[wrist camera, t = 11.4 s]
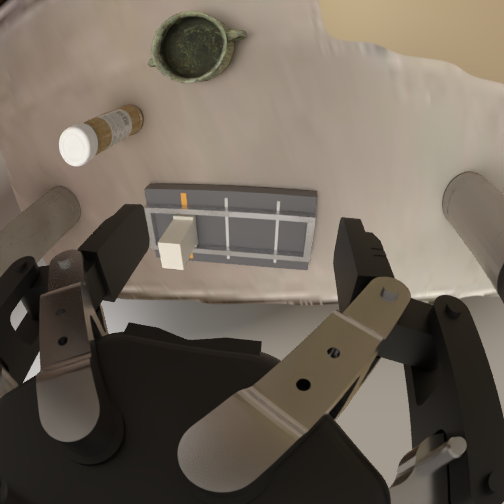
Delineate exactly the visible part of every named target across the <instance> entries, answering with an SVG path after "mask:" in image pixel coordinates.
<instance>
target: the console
mask: <svg viewBox="0 0 504 504" xmlns="http://www.w3.org/2000/svg"><path fill="white" fill-rule="evenodd" d="M144 190H145V196H146V202H147V204H146V205H145V207H144V210H145V216H146V221H147V226H148V232H149V237H150V245H151V249H155V252H156V256H157V257H160V252H159V247H158V241H159V240H160V238H161V237H162V235H163V234H164V232H165V231H166V229H167V228H168V226H169V225H170V223H171V222H172V220H173V215H174V214H187V215H195V217H196V227H197V237H198V245H197V247H195V248H194V250H193V252H192V254H191V256H190V258H189V260H192V261H203V262H215V263H226V264H238V265H250V266H262V267H274V268H286V269H299V270H307V269H308V263H309V262H310V256H311V249H312V242H313V235H314V227H315V220H316V216H315V212H316V203H317V193H316V191H306V190H294V189H281V188H266V187H249V186H229V185H201V184H149V185H148V186H147V187H146V188H145V189H144ZM160 258H161V257H160Z"/></svg>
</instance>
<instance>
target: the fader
mask: <svg viewBox="0 0 504 504" xmlns="http://www.w3.org/2000/svg"><path fill="white" fill-rule="evenodd" d="M197 245H198V237H197V227H196V217H195V215H187V214H174V215H173V220H172V222H171V223H170V225H169V226H168V228H167V229H166V231H165V232H164V234H163V235H162V237H161V238H160V240H159V241H158V247H159V252H160V257H161V262H162V267H163V268H170V269H179V270H184V268H185V266H186V264H187V262H188V260H189V258H190V256H191V254H192V252H193V250H194V248H195V247H197Z"/></svg>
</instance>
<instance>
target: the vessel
mask: <svg viewBox="0 0 504 504" xmlns="http://www.w3.org/2000/svg"><path fill="white" fill-rule="evenodd" d="M245 36H246V32H245V31H243V30H235V29H233V30H229V29H228V28H227V27H226V26H225V25H224V24H223V23H222V22H220V21H218V20H216V19H215V18H213V17H211V16H209V15H207V14H205V13H201V12H196V11H188V12H181V13H178V14H175V15H173V16H172V17H170V18H169V19H168V20H166V21H165V22H164V23H163V24H162V25H161V26H160V28H159V29H158V30H157V32H156V34H155V37H154V40H153V42H152V49H151V51H152V58H151V59H150V61H149V63H148V65H149V66H150V67H155V66H156V67H157V69H158V70H159V71H160V72H161V73H162V74H164V75H165V76H167V77H168V78H170V79H171V80H174V81H177V82H181V83H191V82H197V81H208V80H210V79H211V78H213V77H215V76H217V75H219V74H220V73H221V72H222V71H223V70H224V69H225V68H226V67H227V66H228V65H229V62H230V60H231V57H232V55H233V53H234V42H235V41H237V40H240V39H243V38H244V37H245Z"/></svg>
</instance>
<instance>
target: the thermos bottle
mask: <svg viewBox="0 0 504 504" xmlns="http://www.w3.org/2000/svg"><path fill="white" fill-rule="evenodd" d="M79 218H80V206H79V203H78V201H77V199H76V197H75V196H74V194H73V193H72V192H71V191H70V190H68V189H67V188H65V187H61V186H59V187H55V188H53V189H52V190H50V191H49V192H48V193H46V194H45V195H44V196H42V197H41V198H40V199H38V200H37V201H36V202H35V203H33V204H32V205H31V206H29V207H28V208H27V209H26V210H24V211H23V212H22V213H21V214H20V215H18V216H17V217H16V218H15V219H14V220H12V221H11V222H10V223H9V224H8V225H7V226H5V227H4V228H3V229H2V230H1V231H0V277H1V276H2V275H3V273H4V272H5V271H6V270H7V269H8V268H9V267H10V265H11V264H12V263H13V262H15V261H16V260H18V259H19V258H22V257H25V256H32V257H34V259H35V261H36V263H37V262H38V261H39V260H40V259H41V258H42V257H43V256H44V255H45V254H46V253H47V252H48V251H49V250H50V249H51V247H52V246H53V245H54V244H55V243H56V242H57V241H58V240H59V239H60V238H61V237H62V236H63V235H64V234H65V233H66V232H67V231H68V230H69V229H70V228H71V227H73V226H74V225H75V224H76V223H77V221H78V220H79Z"/></svg>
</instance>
